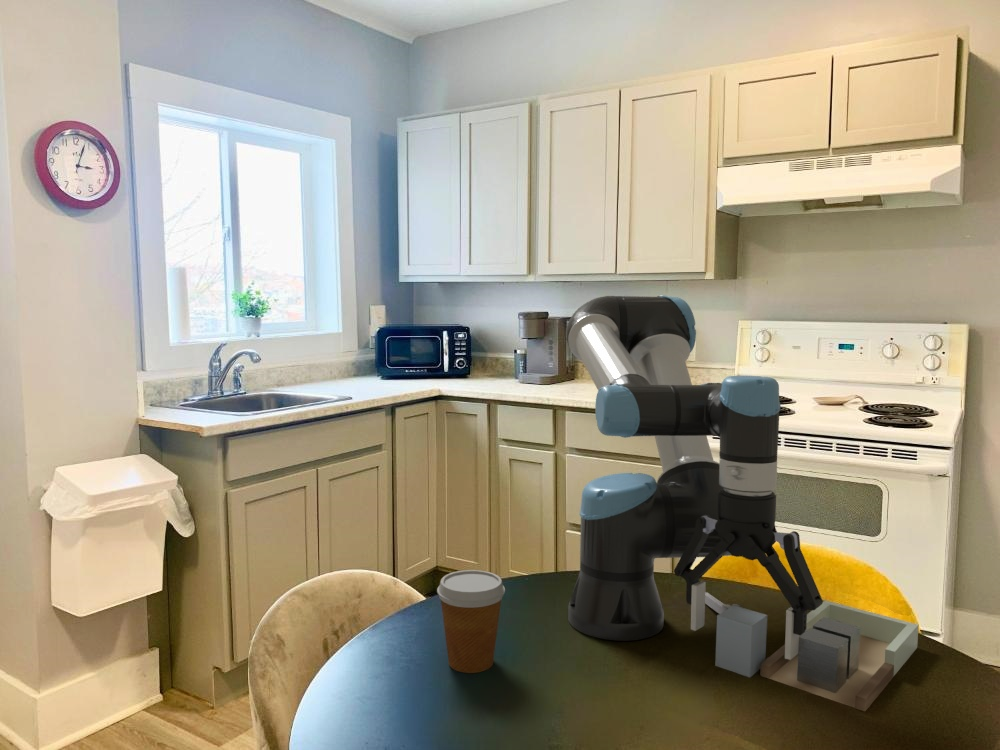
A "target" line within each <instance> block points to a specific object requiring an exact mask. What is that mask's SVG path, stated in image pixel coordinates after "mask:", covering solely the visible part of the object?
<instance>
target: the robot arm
mask: <svg viewBox="0 0 1000 750" xmlns="http://www.w3.org/2000/svg"><path fill="white" fill-rule="evenodd" d="M695 326H696V320H695V316H694V314H693V311H692V309H691V307H690V305H689V304H688V302H686V300H684V299H682V298H681V297H679V296H678V297H677V296H667V295H661V294H660V295H657V296H638V295H637V296H633V295H632V296H628V295H625V296H623V295H617V296H616V295H605V296H600V297H596V298H593V299H590V300H589V301H587V302H586V303H583V304H581V306H579V308H577V310H575V311H574V313H573V314H572V315H571V317H570V319H569V321H568V322H567V325H566V329H565V330H566V331H565V332H566V333H565V337H566V343H567V346H568V349H569V350H570V352H571V353H572V355H573V356H574V357H575V358H576V359H577V360H579V361H581V362H582V363H583V365H584V367H585V368H586V370H587V372H588V374H589V377H591V380H592V382H593V383H594V385H595V388H596V389H597V393H596V397H595V408H594V409H595V420H596V426H597V428H598V431H599V432H600V433H601V434H602V435H603V436H608V437H609V436H611V437H621V438H626V439H627V438H631V437H654V439H655V442H656V447H657V452H658V456H659V460H660V464H661V468H662V473H660V475H659V476H658V477H657V480H656V479H655V477H654V476H652V475H650V474H647V473H641V472H638V473H632V472H621V473H620V472H619V473H614V474H608V475H607V474H606V475H603V476H600V477H597V478H594V479H593V480H591V481H589V482H588V483H587V484H586V485H585V486H584V487H583V489H582V493H581V502H580V509H579V516H580V539H579V541H580V546H579V547H580V548H579V549H580V551H579V555H580V557H579V561H580V563H579V564H580V565H579V573H578V577H577V580H576V583H575V585H574V588H573V591H572V593H571V596H570V600H569V603H568V609H567V611H568V612H567V613H568V617H567V618H568V622H569V624H570V625H571V627H573V628H574V629H575V630H577V631H578V632H580V633H582V634H585V635H586V636H590V637H594V638H598V639H602V640H609V641H618V642H621V641H622V642H625V641H626V642H628V641H638V640H643V639H648V638H651V637H653V636H655V635H658V634H659V633H660V632H661V631H662V629H663V627H664V619H665V617H664V615H665V613H664V607H663V605H662V603H661V602H662V601H661V598H660V594H659V591H658V588H657V584H656V581H655V578H654V570H655V569H654V566H655V565H654V563H655V560H656V559H663V558H664V559H668V558H669V559H670V558H673V559H675V558H677V559H678V558H679V560H678V563H677V564H676V566H675V567H674V570H673V573H674V575H675V576H676V577H681V578H683V579H684V580H685V583H686V588H685V589H686V590H685V593H686V594H685V595H686V599H685V601H686V604H687V605H690V630H691V631H694V632H696V631H698V630H699V629H701V628H703V627H705V622H706V621H705V615H706V604H705V592H706V586H707V585H706V581H705V580H701V579H702V578H703V576H704V575H705V574H706V573H707V572H708V571H709V570H710V569H711V568H712V567H713V566H714V565H716V564H717V562H719V560H721V558H723V557H728V556H731V557H736V558H739V557H740V558H741V557H742V558H745V559H746V560H750V561H755V560H757V561H758V563H759V564H760V565H761V566H762V567H763V568H765V570H766V571H767V572H768V574H769V575H770V577H771V579H772V580H773V581H774V583H775V584H776V586H777V587H778V589H779V590H780V592H781V593H782V594H783V596H784V597H785V599H786V601H787V602H788V604H789V605H790V607H788V608H787V609H786V610H785V635H784V636H785V640H784V644H785V659H789V660H791V659H792V658H793V657H795V656H796V655H797V654H798V647H799V635H802V634H803V633H804V632H805V631H806V624H807V622H806V621H807V614H808V611H810V612H811V611H813V610H815V609H816V608H818V607H819V606H820V605H822V603H823V601H824V600H823V597H822V596H821V594H820V591H819V589H818V586H817V583H816V582H815V580H814V577H813V575H812V573H811V570H810V568H809V566H808V563H807V561H806V558H805V556H804V553H803V552H802V548H801V539H800V534H799V533H798V531H796V530H795V531H794V530H793V531H791V532H778V531H777V529H776V528H777V527H776V516H777V512H776V511H777V495H776V493H775V492H774V491H775V490H777V487H778V486H777V485H778V448H779V445H778V444H779V430H780V429H779V427H780V411H781V402H780V385H779V382H778V381H777V379H775V378H773V377H770V376H769V377H768V376H758V375H729V376H727V377H724V379H723V380H722V381H721V383H720V382H706V383H705V382H704V383H701V384H693V383H692V381H691V377H690V373H689V370H688V366H687V361H688V359H689V358H690V355H691V353H692V352H693V350H694V347H695V345H696V340H697V329H696V327H695ZM707 436H709V437H711V436H712V437H714V436H715V437H718V438H719V452H718V453H719V455H718V456H719V462H718V461H715V460H714V457H713V454H712V451H711V447H710V443H709V439H708V437H707ZM776 542H777V543H778V544H779V546H780V549H781V550H783V552H784V555H785V559H786V561H787V563H788V565H789V568H790V570H791V573H792V576H791V574H790V573H789V571H788V570H787V568H786V567H785V565H784V563H782V561H781V559H780V556H779V555H780V554H778V552H777V551H776V549H775V548H774V545H775V543H776ZM697 558H703V559H702V560H701V561H699V563H698V564H696V565H695V567H694V568H692V567H693V564H694V562H695V561H696V560H697ZM793 577H794V578H793Z"/></svg>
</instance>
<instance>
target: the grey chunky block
mask: <svg viewBox="0 0 1000 750" xmlns="http://www.w3.org/2000/svg"><path fill="white" fill-rule="evenodd" d="M813 629H816V630H819V631H823V632H826V633H830V634H833V635H837V636H840V637H844V638H847V639H848V655H847V675H846V679H849V678H850V677H851V676H852V675H853V674H854V673H855V672H856V671H857V670H858V665H859V646H860V627H858V626H855V625H851V624H847V623H844V622H840V621H836V620H833V619H829V618H825V617H823V618H821V619H820V620H819V621H818V622H817V623H815V624H814V625H813Z"/></svg>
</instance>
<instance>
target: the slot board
mask: <svg viewBox="0 0 1000 750" xmlns="http://www.w3.org/2000/svg"><path fill="white" fill-rule="evenodd" d="M889 644H890V643H887V642H884V641H880V640H877V639H873V638H869V637H866V636H862V635H860V646H859V665H858V670H857V671H856V672H855V673H854V674H853V675H852V676H851V677H850V678H849V679H846V683H845V684H844V685H843V686H842V687H841V688H840V689H839V690H838V691H837V692H836V693H833V692H830V691H827V690H824V689H821V688H818V687H815V686H812V685H809V684H806V683H803V682H800V681H797V669H798V654H797V655H796V656H795V657H793V658H792V659H791V660H789V659H785V643H784V644H783V645H782V646H781V647H780V648H778V649H777V650H776V651H775V652H773V653H772V654H771V655H770V656H768V657H767V658H765V661H764V662H762V663H761V669H760V674H759V675H760V676H761V677H763V678H767V679H770V680H773V681H775V682H778V683H781V684H784V685H787V686H788V687H789V686H790V687H793V688H795V689H799V690H801V691H804V692H807V693H810V694H812V695H816V696H820V697H822V698H825V699H828V700H830V701H833V702H837V703H840V704H842V705H845V706H848V707H850V708H853V709H857V710H860V711H863V712H866V711H867V710H868V708H870V706H871V705H872V704H873V702H875V700H876V699H877V698H878V697H879V695H880V694H881V693H882V691H884V689H885V688H886V687H887V686H888V684H889V683H890V682H891V681H892V679H893V678H894V677H895V676H896V674H895V675H894V665H892V664H888V663H885V649H886V648H887V647H888V645H889ZM917 649H918V647H917V648H916V650H917ZM913 654H914V652H913V653H912V655H913ZM909 659H910V657H909V658H908V659H907V661H908V660H909ZM904 665H905V663H904V664H903V666H904ZM900 670H901V668H900V669H899V670H898V672H899V671H900ZM893 676H894V677H893Z"/></svg>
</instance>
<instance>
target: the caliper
mask: <svg viewBox="0 0 1000 750" xmlns="http://www.w3.org/2000/svg"><path fill="white" fill-rule="evenodd" d="M705 605H707V606H708V607H709V608H711V610H713V611H715V612H716V613H718V615H719V614H720V613H722V612H724V611H725V610H727V609H728V608H730V607H731V606H733V605H734V606H737V607H741V608H742V606H741V605H739V603H732V604H731V605H730V604H725V603H723V602H721V601H720V600H718V599H717V598H716V597H714V596H713V595H711V593H709V592H706V591H705Z"/></svg>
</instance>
